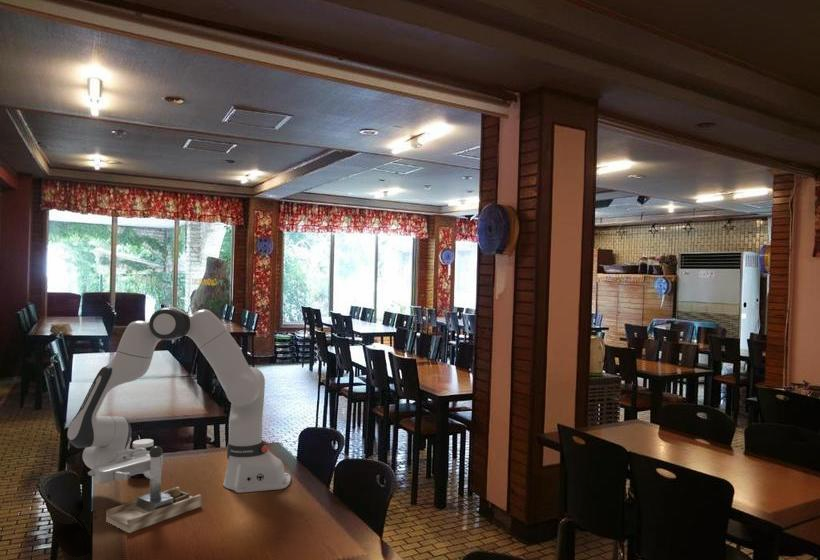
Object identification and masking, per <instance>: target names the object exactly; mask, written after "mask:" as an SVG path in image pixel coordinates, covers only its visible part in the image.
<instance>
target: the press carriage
mask: <svg viewBox="0 0 820 560" xmlns="http://www.w3.org/2000/svg"><path fill="white" fill-rule="evenodd" d="M153 446H154V445H153ZM149 455H150V479H149V492H148V493H145V494H142V495H139V496H137V497H136V500H137V506H138V507H140V508H142V509H145V510H147V511H149V512H150V511H153V510H156V509H159V508H162V507H165V506H167V505H170V504H173V497H171V495H170V494H167V493H164V492H163V491H162V471H161V455H162V456H163V448H162V447H161V446H159V445H155V446H154V447H152V448H151V449H150V452H149Z"/></svg>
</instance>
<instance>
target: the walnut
mask: <svg viewBox="0 0 820 560" xmlns="http://www.w3.org/2000/svg"><path fill="white" fill-rule="evenodd" d="M167 490H168V492H167V494H170V495H171V497H173V501H174V499H175V498H177V497H180V495H181V492H180V491H181V489H180V490H179V489H178V488H175V487H171V488H169V489H167Z"/></svg>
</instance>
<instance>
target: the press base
mask: <svg viewBox="0 0 820 560" xmlns="http://www.w3.org/2000/svg"><path fill="white" fill-rule="evenodd" d="M174 488H178V489H179V490H180V492H181V495H180V497H177V498H175V499H174V501H173V504H170V505H167V506H165V507H162V508H159V509H156V510H153V511H150V512H149V511H147V510H145V509H142V508H140V507H138V506H137V499H136V500H133V501H129V502H127V503H123V504H120V505H117V506H115V507H111V508H109V509H106V510H105V516H106V517H105V523H107V522H108V523H107V524H109V523H110V524H109V525H111V524H112V525H111V526H113V525H114V527H115V526H116V528H117V529H119V528H120V530H122V531H124V532H125V533H129V534H131V533H133V532H136V531H139V530H141V529H144V528H146V527H150V526H152V525H155V524H158V523H160V522H163V521H165V520H168V519H171V518H174V517H176V516H180V515H182V514H184V513H187V512H189V511H194V510H195V509H198V508H201V507H202V495H201V494H200V493H199V494H197V495H193V496H192V495H190V493H188V492H185V491H182V490H181V489H180V486H175V487H174ZM168 490H169V489H166V490H164V491H162V492H164V493H167V492H168Z"/></svg>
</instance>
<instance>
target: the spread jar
mask: <svg viewBox="0 0 820 560" xmlns="http://www.w3.org/2000/svg"><path fill="white" fill-rule="evenodd" d="M152 447H154V439H151V438H143V439H141V438H140V439H136V440H134V441H133V442H132V448H131V449H136V448H146V451H150V449H151V448H152ZM162 469H163V466H162V467H161V472H162V471H163V470H162ZM131 477H133V478H147V479H149V480H150V471H146V472H143V473H139V474H136V475H132V476H131Z"/></svg>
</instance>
